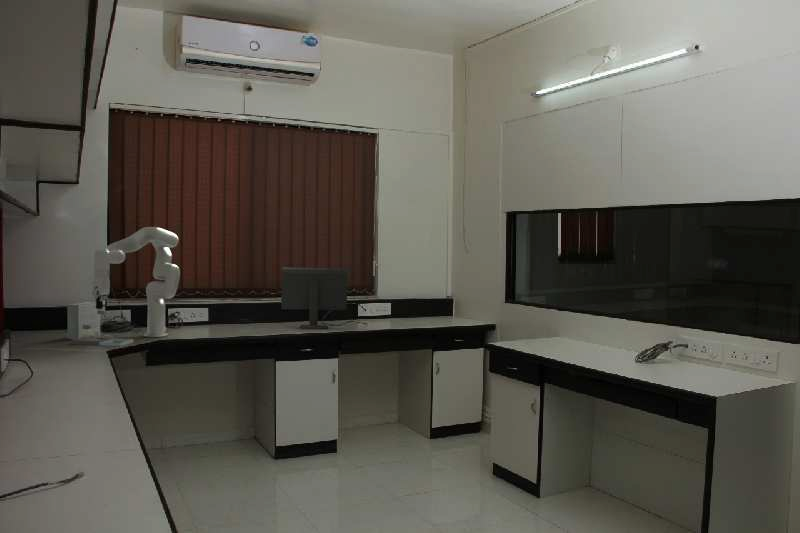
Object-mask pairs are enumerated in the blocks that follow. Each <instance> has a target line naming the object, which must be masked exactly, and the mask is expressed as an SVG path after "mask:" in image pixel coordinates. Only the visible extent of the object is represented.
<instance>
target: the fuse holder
mask: <svg viewBox="0 0 800 533" xmlns="http://www.w3.org/2000/svg"><path fill="white" fill-rule="evenodd" d="M90 338H91V339H83V337H82V338H78V339H70V345H83V346H84V345H85V346H87V345H89V346H99V342H103V341H107V340H110V339H116V336H111V335H109V334H108V335H107V334H105V335H103V336H101V335H100V336H97V335H90Z"/></svg>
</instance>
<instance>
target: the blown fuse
mask: <svg viewBox="0 0 800 533" xmlns="http://www.w3.org/2000/svg"><path fill="white" fill-rule="evenodd" d="M102 301H103V308H102V309H98V310H97V314H100V315H106V308H105V297H103V296H102Z"/></svg>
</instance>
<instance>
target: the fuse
mask: <svg viewBox="0 0 800 533" xmlns="http://www.w3.org/2000/svg"><path fill="white" fill-rule="evenodd" d="M90 330H91V325H83V339H91V338H90Z"/></svg>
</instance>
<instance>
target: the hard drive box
mask: <svg viewBox="0 0 800 533" xmlns="http://www.w3.org/2000/svg"><path fill="white" fill-rule="evenodd" d="M97 310H98V309H96V301H95V302H94V301H86V302H78V303H68V304H67V340H74V339H78V338H82V337H83V325H91V330H90V335H97V336H101V314H97Z"/></svg>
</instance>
